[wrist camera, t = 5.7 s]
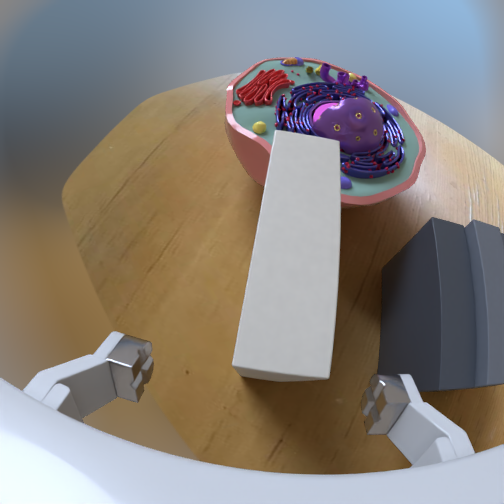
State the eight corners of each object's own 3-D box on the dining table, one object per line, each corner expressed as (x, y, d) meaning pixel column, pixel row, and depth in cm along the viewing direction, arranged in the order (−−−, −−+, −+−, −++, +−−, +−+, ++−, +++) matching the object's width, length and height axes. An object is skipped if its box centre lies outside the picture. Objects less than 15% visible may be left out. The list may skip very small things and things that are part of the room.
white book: (295, 259, 25) (339, 137, 12) (279, 381, 21) (329, 379, 8) (261, 254, 25) (275, 125, 13) (240, 375, 21) (231, 366, 8)
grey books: (458, 281, 24) (522, 235, 15) (458, 389, 20) (537, 377, 11) (381, 268, 25) (439, 208, 16) (374, 392, 20) (449, 389, 11)
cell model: (334, 104, 35) (352, 33, 25) (418, 228, 27) (477, 157, 17) (209, 123, 32) (200, 39, 22) (264, 277, 24) (277, 195, 14)
